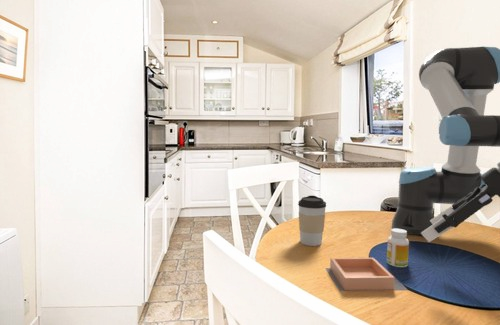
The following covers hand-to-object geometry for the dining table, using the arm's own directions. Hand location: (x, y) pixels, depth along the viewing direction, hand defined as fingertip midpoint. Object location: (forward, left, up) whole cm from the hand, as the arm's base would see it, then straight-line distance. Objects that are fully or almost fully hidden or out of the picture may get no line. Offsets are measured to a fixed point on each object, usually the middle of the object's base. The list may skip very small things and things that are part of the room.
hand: (429, 230), depth 84 cm
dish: (+19, +3, -11) cm, 22 cm away
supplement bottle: (+5, -6, -12) cm, 14 cm away
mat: (+18, +3, -11) cm, 22 cm away
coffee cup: (+25, -24, -12) cm, 36 cm away
